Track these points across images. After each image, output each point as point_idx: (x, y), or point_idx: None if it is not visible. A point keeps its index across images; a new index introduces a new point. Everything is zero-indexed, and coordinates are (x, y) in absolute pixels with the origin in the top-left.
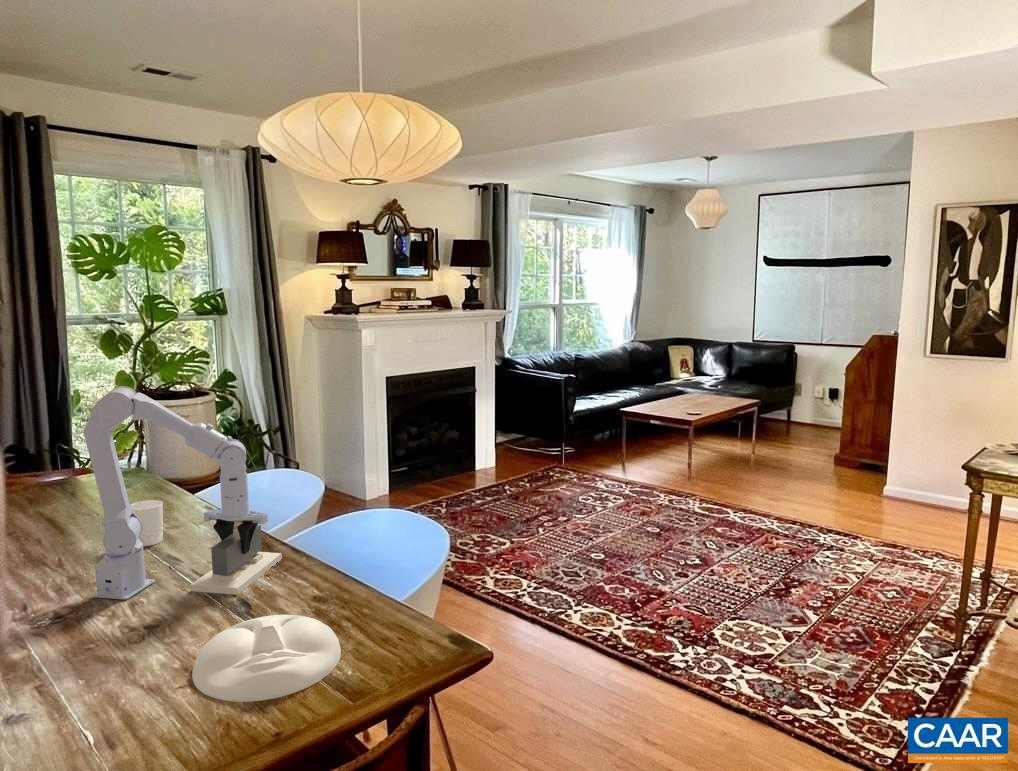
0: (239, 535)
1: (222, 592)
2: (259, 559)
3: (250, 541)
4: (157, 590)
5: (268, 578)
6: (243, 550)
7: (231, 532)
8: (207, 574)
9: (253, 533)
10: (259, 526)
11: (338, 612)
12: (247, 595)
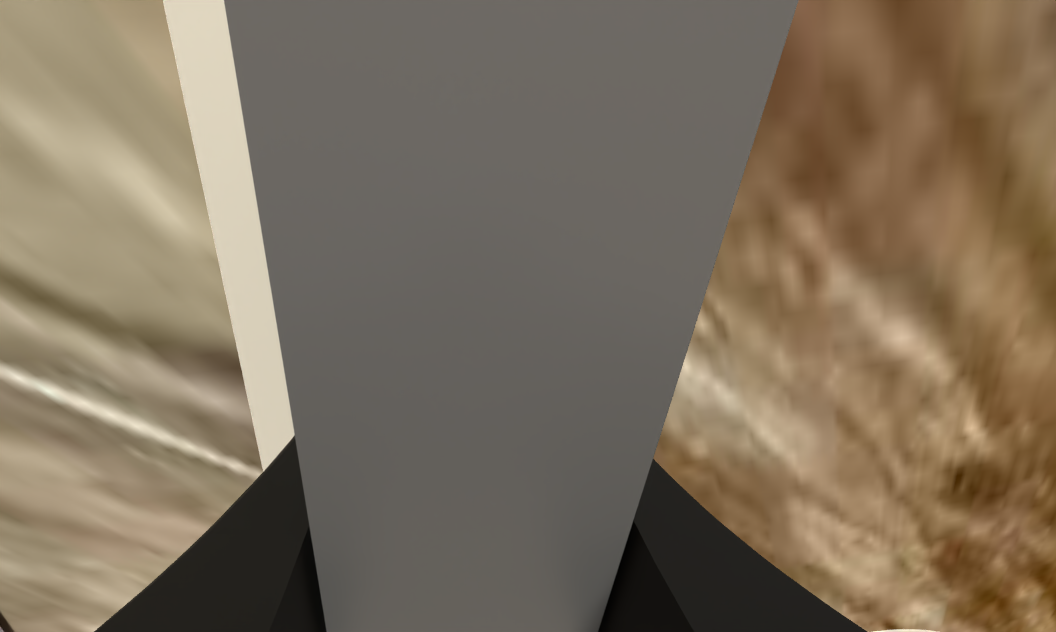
0: (503, 602)
1: None
2: None
3: None
4: (71, 558)
5: (701, 328)
6: None
7: (297, 627)
8: (278, 452)
9: (751, 550)
10: (792, 10)
11: (1022, 549)
12: None
